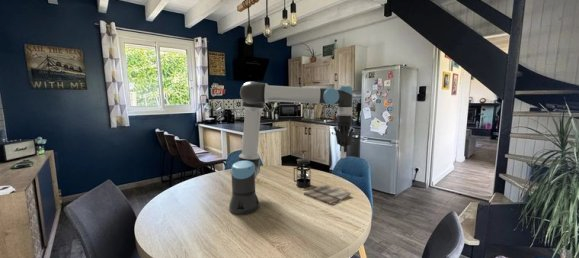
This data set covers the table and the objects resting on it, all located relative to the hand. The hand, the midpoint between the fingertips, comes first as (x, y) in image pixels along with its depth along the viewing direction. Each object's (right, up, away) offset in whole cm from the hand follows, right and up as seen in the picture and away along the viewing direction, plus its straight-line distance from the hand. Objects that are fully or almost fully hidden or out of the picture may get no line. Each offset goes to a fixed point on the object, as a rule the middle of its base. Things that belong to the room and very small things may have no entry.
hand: (343, 157), depth 134 cm
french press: (-21, -21, +23) cm, 38 cm away
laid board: (-12, -23, +2) cm, 26 cm away
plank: (-5, -22, +8) cm, 24 cm away
